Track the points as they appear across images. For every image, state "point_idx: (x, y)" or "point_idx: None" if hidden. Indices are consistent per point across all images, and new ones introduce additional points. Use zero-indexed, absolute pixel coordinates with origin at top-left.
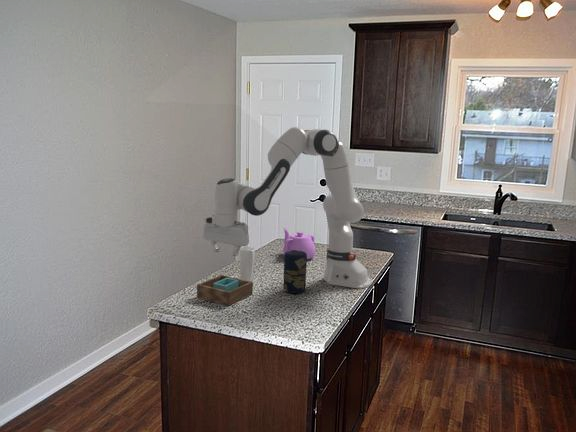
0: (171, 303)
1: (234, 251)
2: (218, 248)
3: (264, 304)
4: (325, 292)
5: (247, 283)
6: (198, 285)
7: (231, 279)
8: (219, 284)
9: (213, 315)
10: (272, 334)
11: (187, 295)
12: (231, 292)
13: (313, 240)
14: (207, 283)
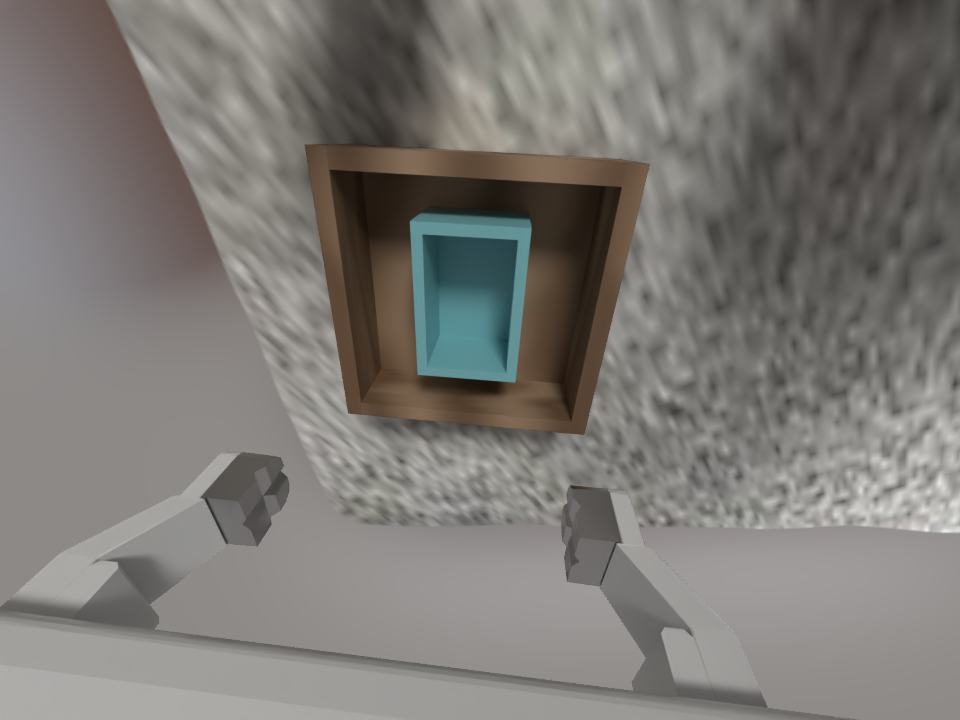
0: (342, 459)
1: (592, 577)
2: (253, 507)
3: (752, 280)
4: None
5: (620, 229)
6: (359, 413)
7: (467, 236)
8: (463, 374)
9: (560, 482)
10: (846, 525)
11: (314, 365)
12: (586, 417)
13: None
14: (357, 340)
